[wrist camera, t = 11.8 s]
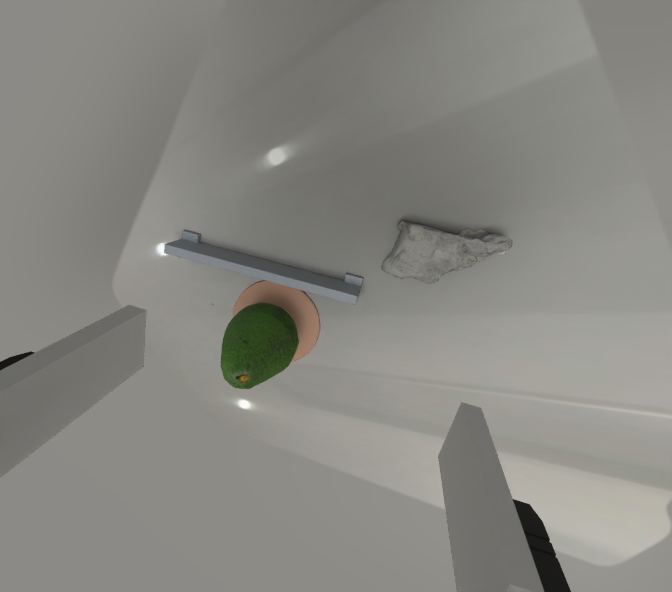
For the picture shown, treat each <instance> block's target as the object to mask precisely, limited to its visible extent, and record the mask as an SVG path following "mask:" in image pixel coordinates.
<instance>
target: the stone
mask: <svg viewBox="0 0 672 592" xmlns="http://www.w3.org/2000/svg"><path fill="white" fill-rule="evenodd" d="M398 230H400V231H401V233H400V236H399V238H398V240H397V242H396V244H395V246H394V248H393V250H392V252H391V253H390V255H389V256H388V257H387V258H386V259H385V260H384V262H383V265H382V270H383V271H384V272H386V273H390V274H392V275H394V276H395V277H400V278H401V279H402V278H408V277H413V278H416V279H418V280H420V281H423V282H426V283H428V284H430V283H434V282H436V281H438V280H439V277H440V276H442V275H444V273H447V272H450V271H453V270H460V269H463V268H467V267H471V266H472V265H473V264H475V263H476V262H480V261H482V260H484V259H485V258H486V257H487V256H490V255H492V254H493V253H495V254H498V255H503V254H506V250H508V249H509V248H510V247H512V240H510V239H509V238H507V237H506V236H503V235H502V234H489V233H487V232H486V231H485V230H483V229H479V230H477V231H473V230H471V229H466V230H464V231H461V232H460V233H459V234H458V235H453V234H451V233H447V232H443V231H441V230H437V229H434V228H431V227H428V226H423V225H419V224H414V223H409V222H403V221H401V222H400V223H399V225H398Z"/></svg>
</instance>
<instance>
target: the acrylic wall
mask: <svg viewBox="0 0 672 592" xmlns="http://www.w3.org/2000/svg"><path fill="white" fill-rule="evenodd" d="M200 237H201V234H198V233H194V232H190V231H187V230H184V231H182V239H180V240H177V241H174V242H171V243H167V244H165V249H164V253H166V254H170V255H174V256H177V257H181V258H185V259H188V260H192V261H196V262H199V263H203V264H207V265H210V266H214V267H218V268H222V269H225V270H229V271H233V272H236V273H240V274H244V275H247V276H251V277H255V278H258V279H262V280H266V281H269V282H273V283H277V284H280V285H284V286H288V287H291V288H295V289H299V290H302V291H306V292H310V293H313V294H317V295H321V296H324V297H328V298H332V299H335V300H339V301H343V302H347V303H350V304H354V305H356V303H357V299H358V295H359V292H360V288H361V284H362V280H363V277H360V276H356V275H352V274H348V273H346V276H345V280H344V281H343V280H339V279H335V278H331V277H328V276H324V275H320V274H316V273H313V272H309V271H305V270H301V269H298V268H294V267H290V266H287V265H283V264H279V263H275V262H272V261H268V260H264V259H260V258H257V257H253V256H249V255H245V254H242V253H238V252H234V251H231V250H227V249H223V248H219V247H216V246H212V245H208V244H204V243H201V242H200Z"/></svg>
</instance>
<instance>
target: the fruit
mask: <svg viewBox="0 0 672 592" xmlns="http://www.w3.org/2000/svg"><path fill="white" fill-rule="evenodd" d="M298 344H299V339H298V333H297V327H296V324H295V322H294V320H293V319H292V317H291V316H290V315H289V314H288V313H287V312H286V311H285V310H284V309H282V308H281V307H278V306H276V305H273V304H270V303H257V304H253V305H249V306H247V307H245V308H243V309H242V310H240V311H239V312H238V313H237V314H236V315H235V316H234V318H233V319H232V320H231V321H230V323H229V324H228V326H227V329H226V331H225V334H224V338H223V343H222V354H221V369H222V372H223V376H224V379H225V380H226V381H227V382H228V383H229V384H230V385H232V386H233V387H235V388H240V389H250V388H252V387H254V386H256V385H258V384H260V383H262V382H264V381H266V380H268V379H269V378H271V377H273V376H275V375H276V374H278V373H280V372H281V371H283V370H284V369H285V368H286V367H287V366H289V364H290V362H291V361H292V359H293V357H294V355H295V353H296V350H297V347H298Z"/></svg>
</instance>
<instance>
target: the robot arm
mask: <svg viewBox="0 0 672 592" xmlns="http://www.w3.org/2000/svg"><path fill="white" fill-rule="evenodd" d="M145 326H146V310H144V309H141V308H138V307H134V306H131V305H128V306H126V307H124V308H122V309H120V310H118V311H116V312H114V313H113V314H110V315H108V316H106V317H105V318H103V319H101V320H99V321H97V322H95V323H93V324H91V325H89V326H87V327H85V328H83V329H81V330H79V331H77V332H75V333H73V334H71V335H69V336H67V337H65V338H63V339H61V340H59V341H58V342H55V343H53V344H52V345H49V346H48V347H46V348H44V349H42V350H40V351H38V352H36V353H34V352H28V353H24V354H20V355H16V356H13V357H10V358H8V359H6V360H4V361H1V362H0V478H1V477H2V476H3V475H5V474H6V473H7V472H8V471H10V470H11V469H12V468H14V467H15V466H16V465H18V464H19V463H20V462H21V461H23V460H24V459H25V458H27V457H28V456H29V455H30V454H31V453H33V452H34V451H36V450H37V449H38V448H39V447H41V446H42V445H43V444H45V443H46V442H47V441H48V440H50V439H51V438H52V437H53V436H55V435H56V434H57V433H59V432H60V431H61V430H62V429H64V428H65V427H66V426H68V425H69V424H70V423H72V422H73V421H74V420H75V419H77V418H78V417H79V416H80V415H82V414H83V413H84V412H86V411H87V410H88V409H89V408H91V407H92V406H93V405H94V404H96V403H97V402H98V401H100V400H101V399H102V398H104V397H105V396H106V395H107V394H109V393H110V392H111V391H113V390H114V389H115V388H116V387H118V386H119V385H120V384H122V383H123V382H124V381H125V380H127V379H128V378H129V377H130V376H132V375H133V374H134V373H136V372H137V371H138V370H140V369H141V368H142V367H143V366H144V346H145ZM438 458H439V465H440V473H441V480H442V487H443V495H444V502H445V509H446V515H447V523H448V531H449V538H450V545H451V553H452V560H453V567H454V575H455V581H456V589H457V592H571V591H570V588H569V586H568V584H567V581H566V578H565V576H564V573H563V571H562V568H561V566H560V564H559V562H558V559H557V558H556V557H555V555H556V554H555V551H554V549H553V546H552V544H551V543H550V542H549V540H550V539H549V537H548V534H547V532H546V529H545V527H544V524H543V522H542V520H541V519H540V518H539V516H538V515H537V514H536V512H535V511H534V510H533V508H532V507H531V506H530V504H527V503H524V502H520V501H517V500H514V499H512V496H511V493H510V490H509V487H508V485H507V482H506V479H505V476H504V473H503V470H502V467H501V464H500V461H499V458H498V455H497V453H496V450H495V447H494V444H493V441H492V438H491V435H490V432H489V429H488V426H487V423H486V421H485V418H484V415H483V412H482V409H481V408H479V407H476V406H472V405H469V404H466V403H462V402H461V405H460V407H459V409H458V412H457V414H456V416H455V419H454V421H453V423H452V426H451V428H450V430H449V433H448V435H447V437H446V439H445V442H444V444H443V446H442V449H441V451H440V453H439V456H438Z"/></svg>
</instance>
